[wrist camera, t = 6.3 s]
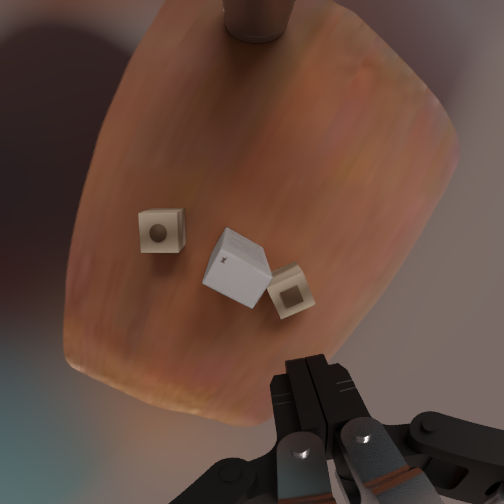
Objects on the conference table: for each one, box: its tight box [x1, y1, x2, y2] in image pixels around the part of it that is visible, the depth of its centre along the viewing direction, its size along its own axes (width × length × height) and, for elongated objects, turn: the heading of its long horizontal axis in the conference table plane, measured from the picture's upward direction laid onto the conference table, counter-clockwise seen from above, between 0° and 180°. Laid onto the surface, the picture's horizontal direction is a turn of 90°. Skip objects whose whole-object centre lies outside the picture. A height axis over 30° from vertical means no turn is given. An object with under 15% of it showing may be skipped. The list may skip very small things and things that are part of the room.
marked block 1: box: [139, 208, 186, 253], centre depth 35 cm, size 5×5×5 cm
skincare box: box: [202, 227, 273, 309], centre depth 33 cm, size 6×4×12 cm
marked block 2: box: [267, 261, 315, 319], centre depth 38 cm, size 5×5×5 cm
